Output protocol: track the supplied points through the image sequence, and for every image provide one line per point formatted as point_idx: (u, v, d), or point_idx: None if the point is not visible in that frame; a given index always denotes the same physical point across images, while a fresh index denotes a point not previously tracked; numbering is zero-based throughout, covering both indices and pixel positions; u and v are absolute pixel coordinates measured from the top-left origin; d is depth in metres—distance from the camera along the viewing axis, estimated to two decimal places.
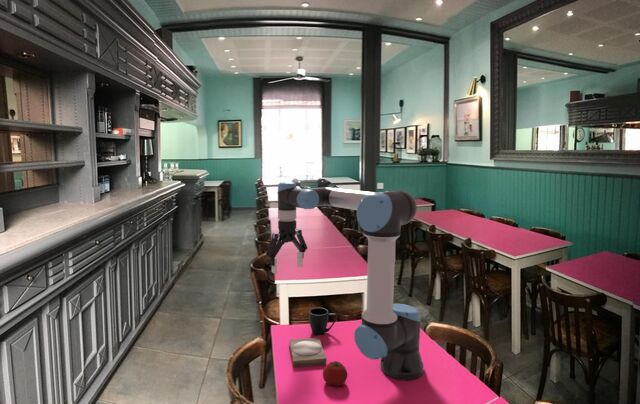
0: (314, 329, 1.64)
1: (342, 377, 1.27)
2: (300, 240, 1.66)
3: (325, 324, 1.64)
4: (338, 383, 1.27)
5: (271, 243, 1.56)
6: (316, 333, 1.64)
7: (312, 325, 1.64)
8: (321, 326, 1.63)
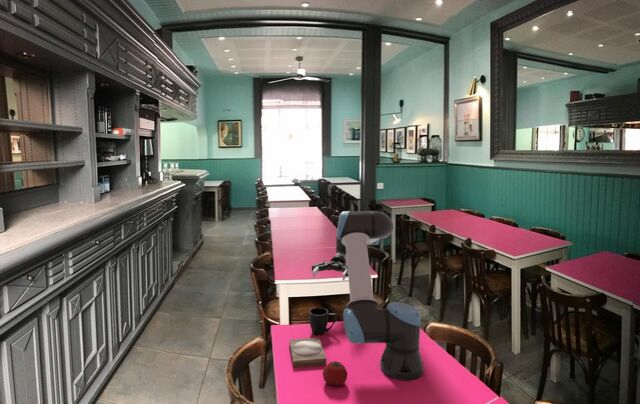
0: (314, 329, 1.64)
1: (342, 377, 1.27)
2: None
3: (325, 324, 1.64)
4: (338, 383, 1.27)
5: None
6: (316, 333, 1.64)
7: (312, 325, 1.64)
8: (321, 326, 1.63)
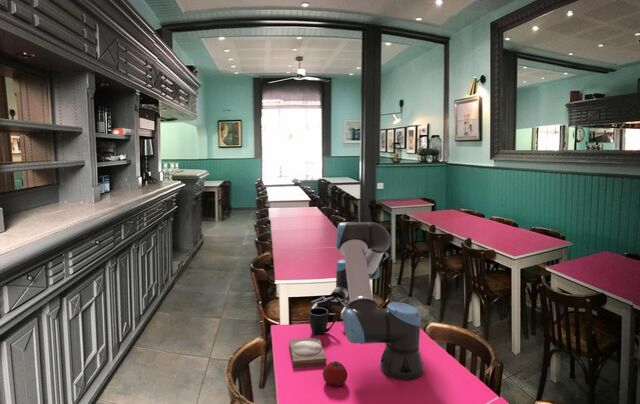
0: (314, 329, 1.64)
1: (342, 377, 1.27)
2: None
3: (325, 324, 1.64)
4: (338, 383, 1.27)
5: None
6: (316, 333, 1.64)
7: (312, 325, 1.64)
8: (321, 326, 1.63)
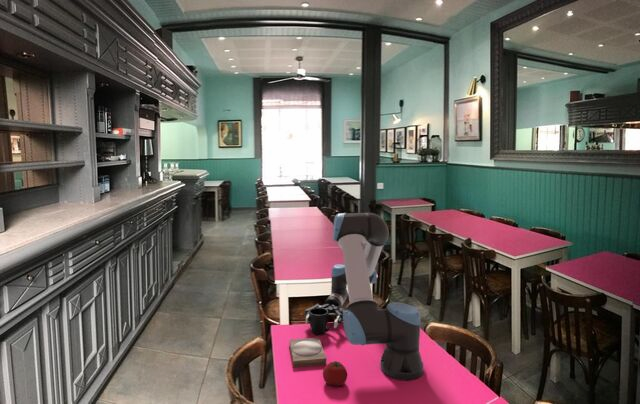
0: (314, 329, 1.64)
1: (342, 377, 1.27)
2: (342, 313, 1.72)
3: (325, 324, 1.64)
4: (338, 383, 1.27)
5: None
6: (316, 333, 1.64)
7: (312, 325, 1.64)
8: (321, 326, 1.63)
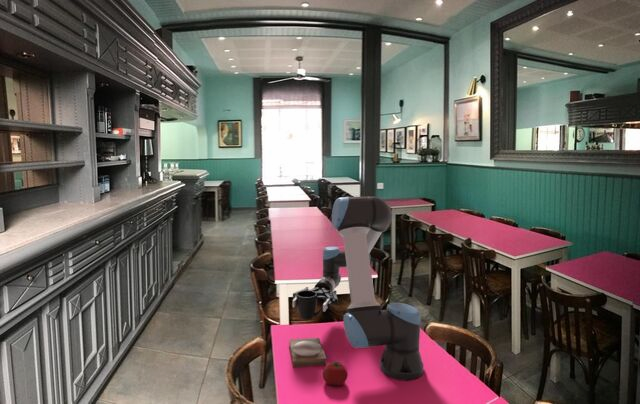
0: (301, 313, 1.52)
1: (342, 377, 1.27)
2: (333, 297, 1.59)
3: (313, 307, 1.52)
4: (338, 383, 1.27)
5: None
6: (304, 317, 1.52)
7: (299, 308, 1.52)
8: (309, 309, 1.51)
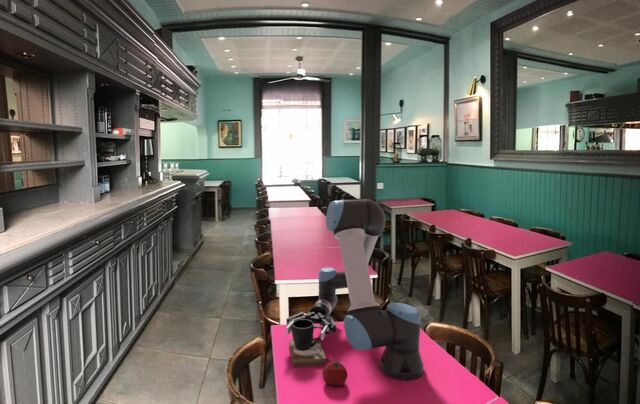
0: (297, 344, 1.45)
1: (342, 377, 1.27)
2: (330, 323, 1.53)
3: (310, 338, 1.46)
4: (338, 383, 1.27)
5: None
6: (300, 348, 1.46)
7: (295, 339, 1.45)
8: (305, 341, 1.45)
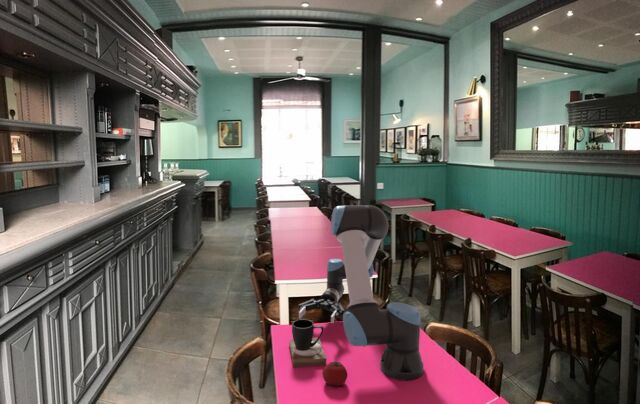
0: (298, 344, 1.45)
1: (342, 377, 1.27)
2: (339, 308, 1.66)
3: (310, 338, 1.46)
4: (338, 383, 1.27)
5: None
6: (300, 348, 1.46)
7: (295, 339, 1.45)
8: (305, 340, 1.45)
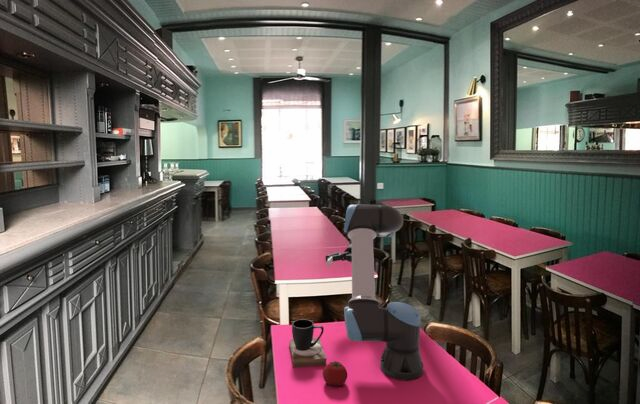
0: (298, 344, 1.45)
1: (342, 377, 1.27)
2: None
3: (310, 338, 1.46)
4: (338, 383, 1.27)
5: None
6: (300, 348, 1.46)
7: (295, 339, 1.45)
8: (305, 340, 1.45)
